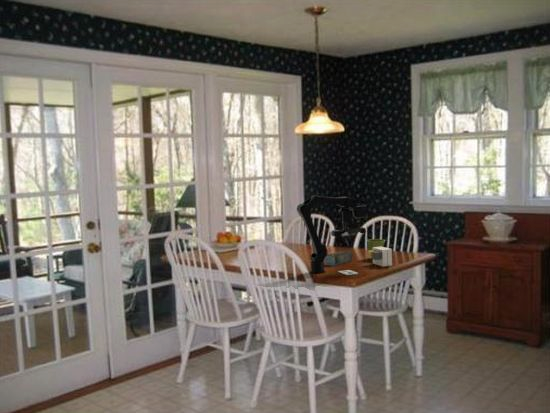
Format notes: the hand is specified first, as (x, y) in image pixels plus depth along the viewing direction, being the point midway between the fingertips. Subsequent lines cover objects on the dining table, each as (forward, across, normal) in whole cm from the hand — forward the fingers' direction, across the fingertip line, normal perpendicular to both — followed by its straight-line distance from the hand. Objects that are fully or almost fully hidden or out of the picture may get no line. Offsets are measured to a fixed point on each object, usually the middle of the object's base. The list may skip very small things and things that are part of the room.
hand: (349, 246), depth 318 cm
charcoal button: (+10, +17, +2) cm, 20 cm away
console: (+14, +22, +5) cm, 26 cm away
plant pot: (+14, +27, +25) cm, 39 cm away
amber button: (+10, +16, +7) cm, 20 cm away
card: (+12, -5, -9) cm, 16 cm away
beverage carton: (+14, +1, +21) cm, 25 cm away
